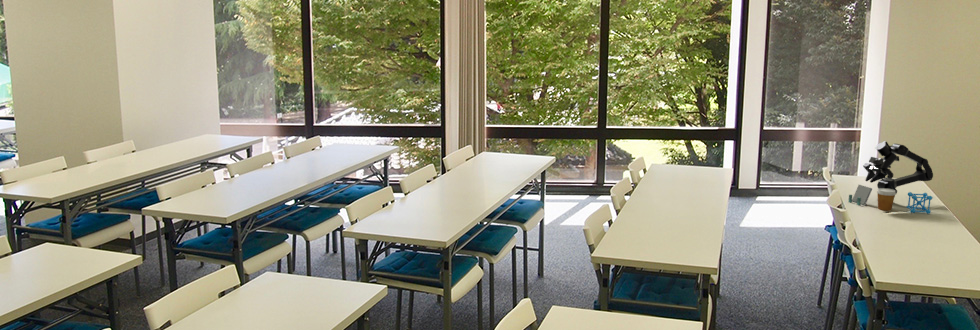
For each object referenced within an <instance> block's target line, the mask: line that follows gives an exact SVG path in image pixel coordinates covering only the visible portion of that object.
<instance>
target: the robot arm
mask: <svg viewBox="0 0 980 330" xmlns="http://www.w3.org/2000/svg"><path fill="white" fill-rule="evenodd" d="M874 148H875V151H877V152H878V153H879V155H880V156H881V157H874V156H870V158H869V160H868V162H869V163H867V162H866V163H864V164H863V165H862V166H863V168H864V170H866V172H867V175H866V177H865V179H864V180H865V182H870V184H871V183H874V182H877V181H878V182H877V190H878V189H880V188H886V189H893V190H895V192H896V194H895V195H897V194H898V190H897V187H901V186H905V185H909V184H912V183H916V182H929V181H930V182H931V181H932V180H933V178H934V173H933V168H932V166H930V164H929V161H928V159H927V158H924V157H923V156H921V155H918V154H916V153H915V152H912V151H910V149H909V147H907V146H906V145H904V144H900V143H892V145H890V144H889V142H888V141H887V140H883V142H882V141H881V142H880V143H878V144H876V146H875V147H874ZM897 155H899V156H897ZM900 156H903V157H905V158H907V159H908V160H910V161H913V162H914V163H916V167H915V172H914V173H911V174H907V175H904V176H901V177H897V178H893V177H894V173H893V172H892V170H891V168H892V165H893V163H895V161H896V162H900ZM922 167H923V168H922ZM893 204H895V202H894V201H893Z"/></svg>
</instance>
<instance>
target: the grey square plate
mask: <svg viewBox="0 0 980 330" xmlns="http://www.w3.org/2000/svg"><path fill="white" fill-rule="evenodd" d="M872 190H873V188H872V187H870V186H869V187H868V186H866V185H862V184H858V185H857V187H856V189H855V191H854V194H853V195H852V202H851V203H856V204H857V198H858V197H860V198H861V202H860V206H864V204H866V205H867V203H868V200H869V198H870V196H871V193H872Z"/></svg>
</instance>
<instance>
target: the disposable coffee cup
mask: <svg viewBox="0 0 980 330" xmlns="http://www.w3.org/2000/svg"><path fill="white" fill-rule="evenodd" d="M876 194H877V210H879V211H883V213H886V214H887V213H888V214H889V213H890V212H891V211H892V209H893V208H892V207H893V206H894V203H893V202H894V201H895V196H896V195H897V194H896V192H895V190H893V189H886V188H880V189H878V188H877V190H876Z"/></svg>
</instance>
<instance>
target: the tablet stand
mask: <svg viewBox="0 0 980 330" xmlns="http://www.w3.org/2000/svg"><path fill="white" fill-rule="evenodd" d="M852 199H853V194H848V201H847V202H848V203H849V204H850V203H853V202H852ZM860 202H861V198H860V197H858V198H857V203H856V206H861V204H860ZM863 206H864V207H868V206H869V205H868V204H867V203H866V204H864V205H863Z"/></svg>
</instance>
